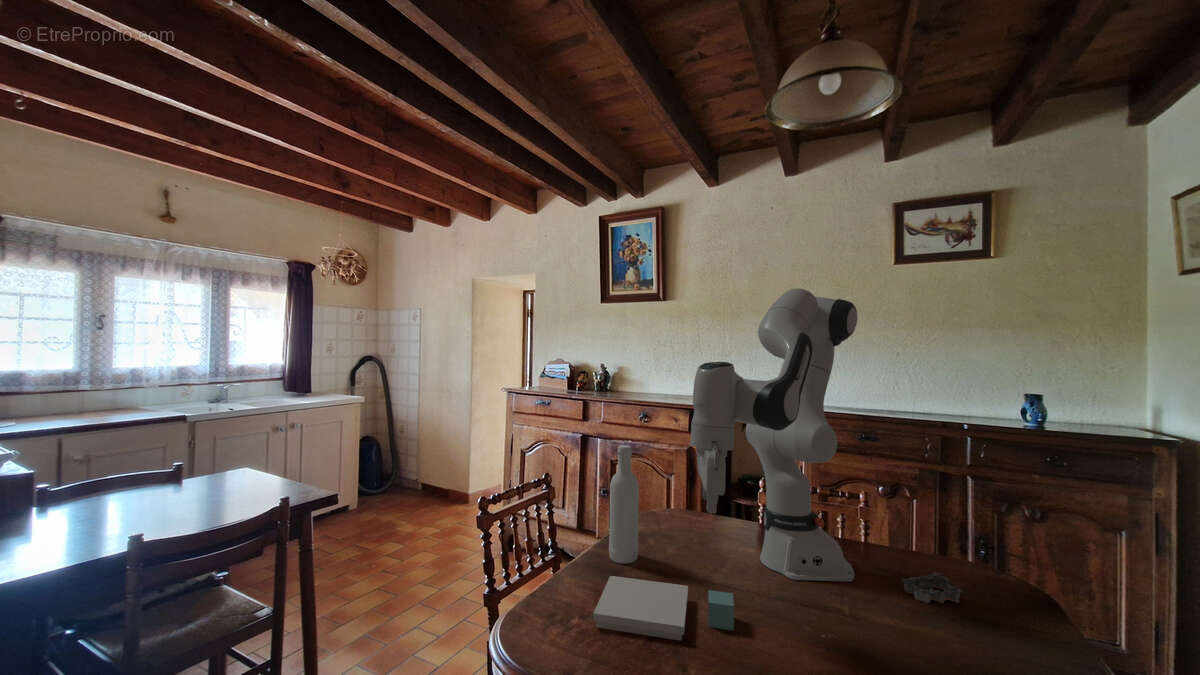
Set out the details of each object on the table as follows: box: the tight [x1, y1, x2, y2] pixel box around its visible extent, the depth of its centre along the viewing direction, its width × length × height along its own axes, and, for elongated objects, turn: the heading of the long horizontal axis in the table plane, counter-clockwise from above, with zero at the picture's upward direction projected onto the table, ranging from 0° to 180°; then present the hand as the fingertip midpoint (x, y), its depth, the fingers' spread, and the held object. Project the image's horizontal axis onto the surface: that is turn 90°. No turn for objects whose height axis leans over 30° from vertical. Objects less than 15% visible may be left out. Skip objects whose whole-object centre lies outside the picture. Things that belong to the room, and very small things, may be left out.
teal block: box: [707, 589, 735, 631], centre depth 96 cm, size 5×5×5 cm
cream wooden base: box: [592, 575, 689, 641], centre depth 98 cm, size 18×16×3 cm
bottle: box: [608, 444, 640, 565], centre depth 125 cm, size 8×8×30 cm
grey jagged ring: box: [900, 572, 964, 603], centre depth 107 cm, size 11×8×4 cm
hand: (708, 505), depth 96 cm, fingers open, 8 cm apart
